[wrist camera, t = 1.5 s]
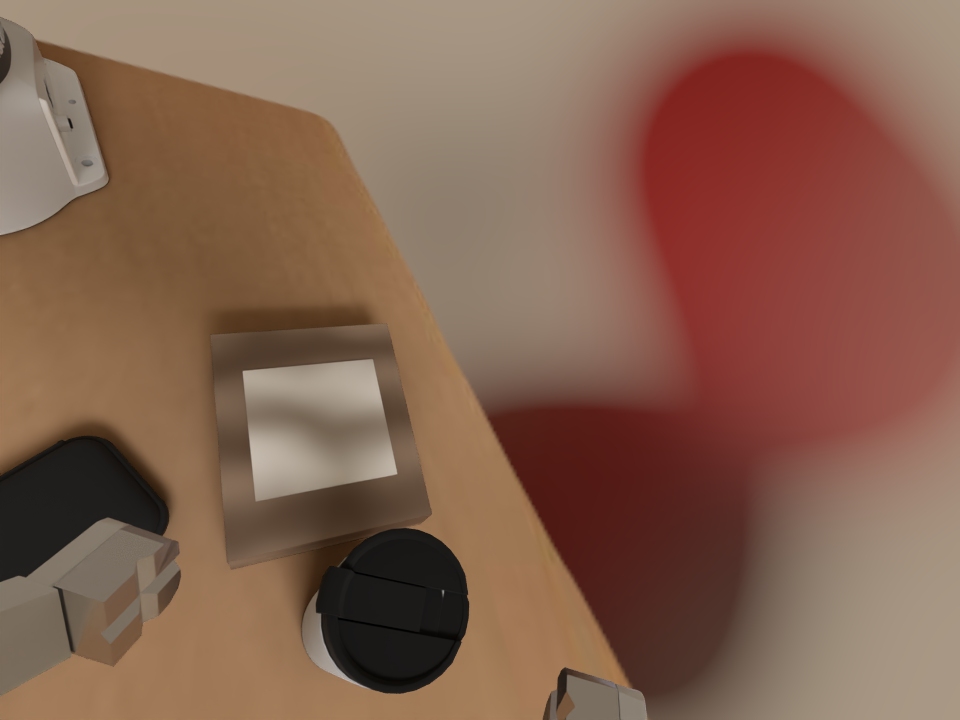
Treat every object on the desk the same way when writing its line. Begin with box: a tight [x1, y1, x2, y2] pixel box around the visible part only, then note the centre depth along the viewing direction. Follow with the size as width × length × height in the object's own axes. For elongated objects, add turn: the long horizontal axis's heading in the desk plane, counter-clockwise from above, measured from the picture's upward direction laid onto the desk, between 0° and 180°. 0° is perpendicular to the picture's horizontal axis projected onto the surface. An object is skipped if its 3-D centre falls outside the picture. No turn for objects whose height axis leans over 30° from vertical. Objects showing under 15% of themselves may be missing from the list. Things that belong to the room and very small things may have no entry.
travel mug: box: [302, 528, 469, 694], centre depth 29 cm, size 6×7×20 cm
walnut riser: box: [210, 323, 432, 570], centre depth 40 cm, size 17×14×4 cm
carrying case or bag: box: [0, 436, 169, 582], centre depth 32 cm, size 11×3×15 cm
